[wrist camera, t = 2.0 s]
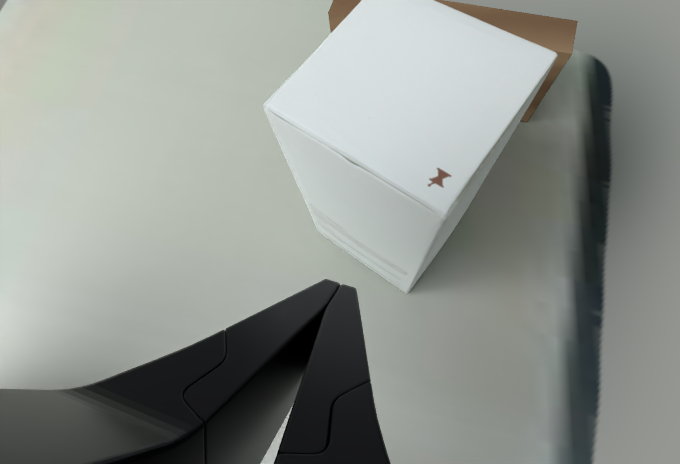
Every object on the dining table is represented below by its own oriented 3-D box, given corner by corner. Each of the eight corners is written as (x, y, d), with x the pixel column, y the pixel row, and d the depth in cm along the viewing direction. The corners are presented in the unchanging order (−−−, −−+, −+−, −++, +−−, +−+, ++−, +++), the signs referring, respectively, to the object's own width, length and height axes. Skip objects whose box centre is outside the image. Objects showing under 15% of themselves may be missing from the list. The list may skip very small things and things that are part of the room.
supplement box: (471, 206, 24) (572, 52, 12) (406, 297, 22) (445, 227, 10) (379, 150, 25) (384, -32, 14) (313, 230, 24) (254, 104, 12)
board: (527, 122, 25) (571, 53, 19) (337, 82, 28) (328, 12, 22) (532, 94, 26) (577, 21, 20) (346, 58, 28) (340, -16, 23)
